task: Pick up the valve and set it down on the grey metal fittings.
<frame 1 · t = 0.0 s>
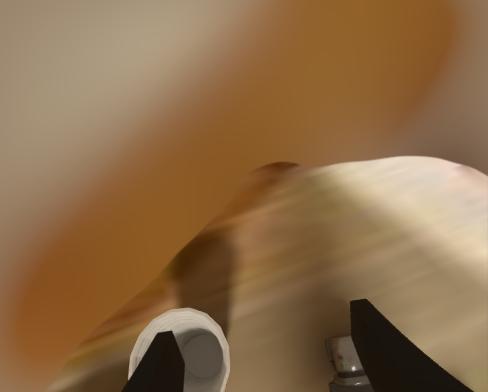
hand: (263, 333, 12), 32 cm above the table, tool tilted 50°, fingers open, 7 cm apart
plastic cup: (204, 353, 41), on the table
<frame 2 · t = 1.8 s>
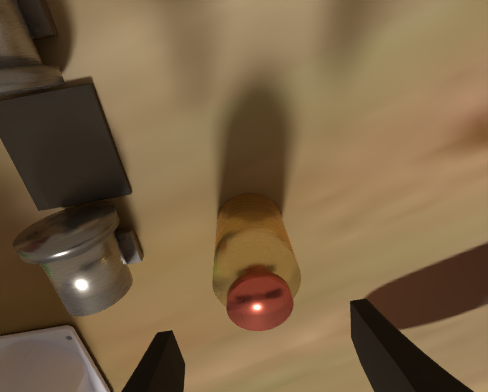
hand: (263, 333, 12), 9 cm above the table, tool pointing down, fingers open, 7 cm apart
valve: (249, 222, 20), on the table
grey metal fittings: (64, 151, 17), on the table
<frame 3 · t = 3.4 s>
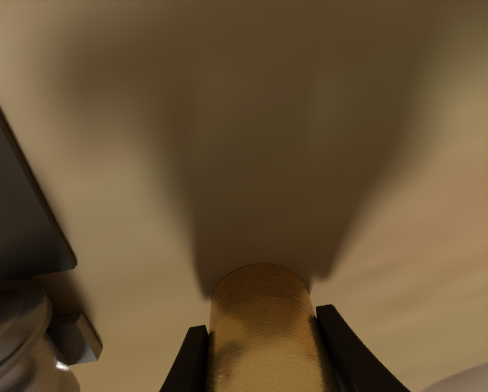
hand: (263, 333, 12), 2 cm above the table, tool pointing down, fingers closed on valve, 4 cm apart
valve: (259, 303, 13), on the table, touching gripper
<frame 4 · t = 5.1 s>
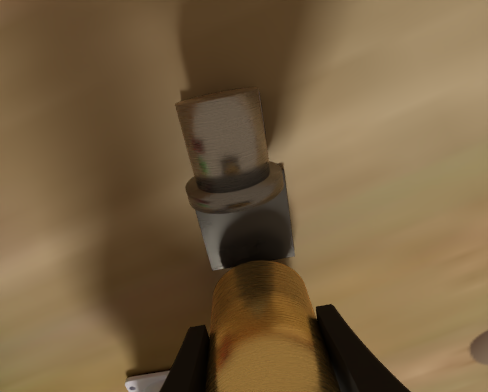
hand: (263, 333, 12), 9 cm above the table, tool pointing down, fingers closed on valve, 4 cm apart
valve: (259, 299, 14), point 7 cm above the table, touching gripper
grey metal fittings: (245, 221, 20), on the table
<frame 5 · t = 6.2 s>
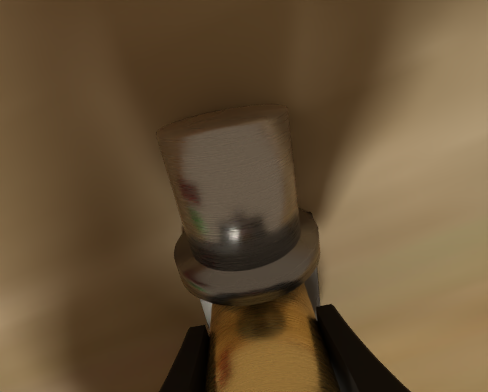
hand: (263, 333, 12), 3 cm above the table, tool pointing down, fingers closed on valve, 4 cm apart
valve: (259, 298, 14), point 1 cm above the table, touching gripper
grey metal fittings: (256, 279, 15), on the table
when the fingers open (3 cm above the table, at t = 7.1 s): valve stays where it is, resting on grey metal fittings.
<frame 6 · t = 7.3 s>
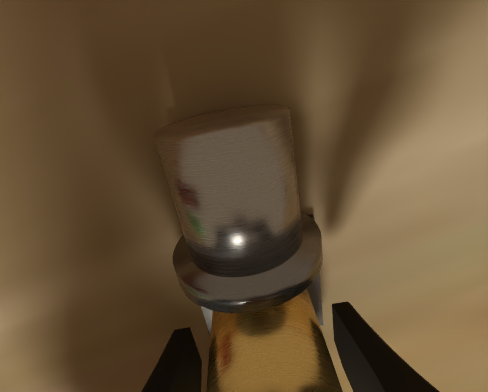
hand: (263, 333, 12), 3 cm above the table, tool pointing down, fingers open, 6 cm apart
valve: (259, 288, 14), resting on grey metal fittings
grey metal fittings: (257, 282, 14), on the table
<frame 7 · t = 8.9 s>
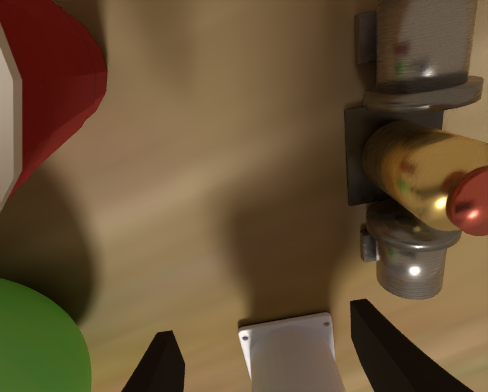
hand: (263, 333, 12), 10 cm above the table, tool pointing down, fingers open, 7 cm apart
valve: (394, 154, 19), resting on grey metal fittings
grey metal fittings: (391, 151, 19), on the table
plastic cup: (55, 63, 16), on the table
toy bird: (9, 317, 24), on the table
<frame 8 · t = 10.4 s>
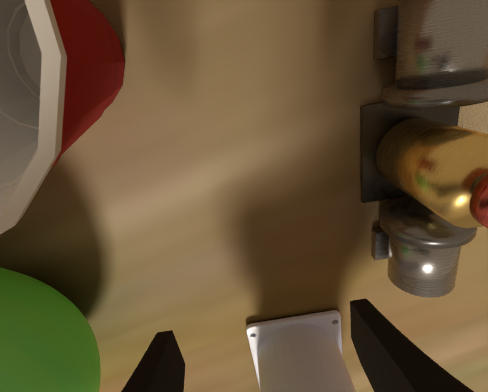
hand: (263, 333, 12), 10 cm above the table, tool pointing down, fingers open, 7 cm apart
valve: (409, 152, 19), resting on grey metal fittings
grey metal fittings: (406, 148, 19), on the table
plastic cup: (72, 53, 16), on the table
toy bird: (16, 311, 24), on the table
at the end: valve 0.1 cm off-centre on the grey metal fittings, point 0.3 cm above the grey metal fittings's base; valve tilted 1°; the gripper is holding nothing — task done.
